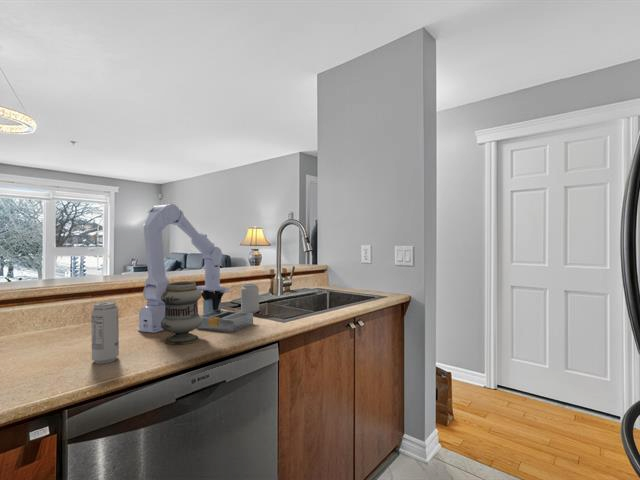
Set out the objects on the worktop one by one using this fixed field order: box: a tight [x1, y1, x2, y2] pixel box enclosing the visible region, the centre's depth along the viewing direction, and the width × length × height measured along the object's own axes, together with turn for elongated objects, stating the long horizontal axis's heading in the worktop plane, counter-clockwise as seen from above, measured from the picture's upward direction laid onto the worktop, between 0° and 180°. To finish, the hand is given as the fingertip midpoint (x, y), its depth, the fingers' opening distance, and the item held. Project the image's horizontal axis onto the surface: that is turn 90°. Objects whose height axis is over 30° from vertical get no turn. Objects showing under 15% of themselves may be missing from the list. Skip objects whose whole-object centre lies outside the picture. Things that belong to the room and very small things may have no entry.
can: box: [240, 283, 260, 314], centre depth 148 cm, size 8×8×12 cm
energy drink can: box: [90, 301, 120, 365], centre depth 91 cm, size 6×6×15 cm
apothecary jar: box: [161, 280, 202, 346], centre depth 108 cm, size 12×12×18 cm
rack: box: [197, 309, 254, 333], centre depth 125 cm, size 13×16×4 cm
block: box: [202, 298, 222, 315], centre depth 140 cm, size 8×3×6 cm, turn 159°
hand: (212, 309), depth 140 cm, fingers closed on block, 3 cm apart
